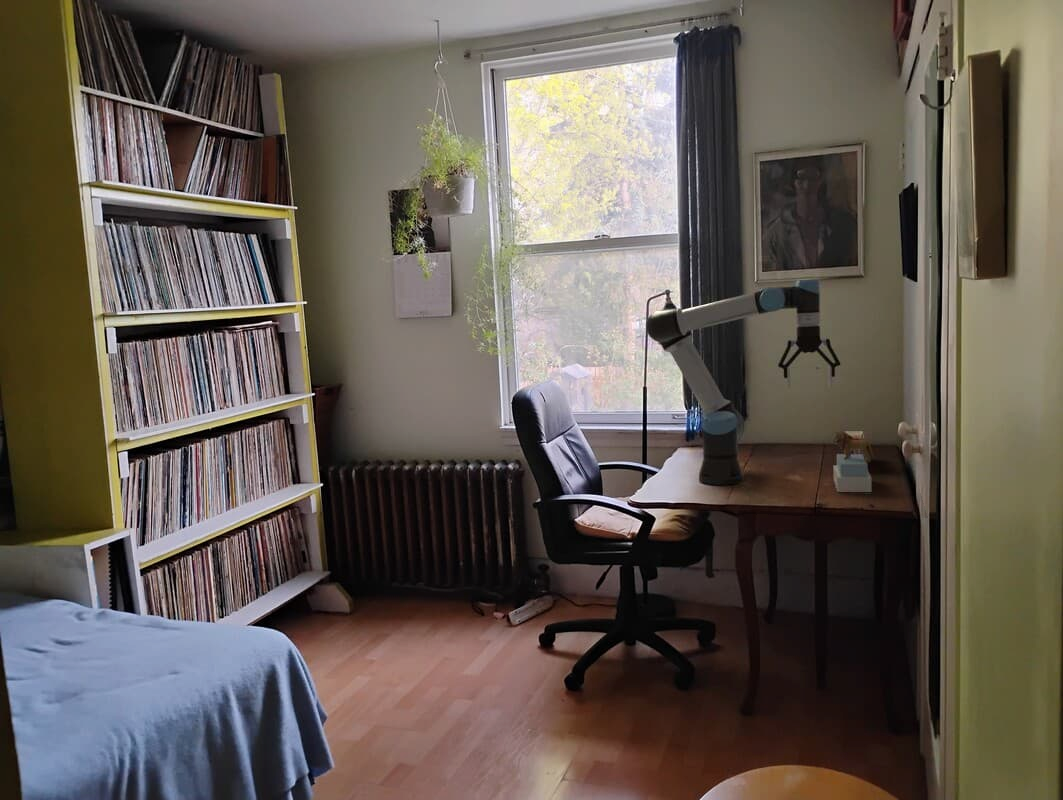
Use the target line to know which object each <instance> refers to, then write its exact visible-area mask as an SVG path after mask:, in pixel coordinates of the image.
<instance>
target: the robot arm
mask: <svg viewBox="0 0 1063 800" xmlns="http://www.w3.org/2000/svg"><path fill="white" fill-rule="evenodd" d="M820 293H821V291H820V282H819V281H818V280H817V279H804V280H803V279H802V280H801V279H800V280H796V282H795V285H794V286H793V285H792V286H779V287H778V286H776V287H764V288H761V289H760V291H759V290H758V291H756V292H755V291H754V292H751V293H747V294H741V295H739V296H734V297H730V298H726V299H722V300H718V301H717V300H716V301H714V302H709V303H706V304H703V305H699V306H698V305H697V306H694V307H693V306H692V307H690V308H689V307H688V308H685V309H682V308H680V307H677V308H673V307H666V308H663V309H657V310H656V311H654V312H652V313H651V314H650V315H649V316H648V318H647V321H646V324H645V325H646V326H645V329H646V332H647V334H648V336H649V338H650V339H652V340H653V341H655V342H658V343H660V346H661V347H662V349H663V350H664V352H667V353H669V354H670V355H671V357H672V358H673V360H674V362H675V363H676V365H677V367H678V368H679V370H680V372H681V374H682V376H683V378H684V380H685V382H686V383H687V385H688V386H689V389H690V390H691V392H692V393H693V395H694V397H695V398H696V399H695V400H696V401H697V402H698V404H699V405H700V408H701V410H702V414H701V418H702V419H701V420H702V423H701V428H702V451H703V452H702V453H703V457H702V461H701V467H700V470H699V473H698V481H699V483H701V482H703V483H702V484H704V483H707V484H706V485H710V484H713V485H712V486H730V485H729V484H732V485H737V484H741V483H743V482H744V480H745V479H744V472H743V468H742V466H741V464H740V461H739V455H738V441H739V439H740V438H741V437H742V436H743V434H744V431H745V420H744V418H743V415H741V413H740V412H739V411H738V410H736V408H735V406H734V405H733V403H732V402H731V400H728V399H725V398H724V397H723V394H722V393H721V390H720V389H719V387H718V386H717V384H716V382H715V380H714V379H713V376H712V375H711V373H710V372H709V369H708V367H707V366H706V365H705V363H704V361H703V359H702V357H701V355H700V354H699V352H698V350H697V348H696V347H695V345H694V343H693V341H692V340H693V336H694V335H693V332H692V331H694V330H696V331H697V330H699V329H703V328H708V327H711V326H712V327H713V326H715V325H719V324H725V323H729V322H733V321H737V320H741V319H746V318H750V317H754V316H757V315H758V316H759V315H762V314H763V315H764V314H766V313H767V314H768V313H771V312H776V311H780V310H788V309H796V325H798V326H797V327H796V340H791V339H789V340H787V344H786V345H787V346H786V348H785V350H784V351H783V353H782V356H781V358H780V360H779V362H778V365H777V366H778V368H781V369H783V378H784V379H787V380H786V382H787V385H786V387H787V389H790V388H791V384H790V383H791V382H790V381H791V380H790V379H791V374H790V368H789V366H791V365H792V363H793V362H794V361H795V360H796V359H797V357H798V356H799V355H800V354H801V353H804V354H807V353H812V354H813V353H815V352H817V353H818V355H820V356H821V358H822V359H823V360H824V361H825V362H826V363H827V364H828V365H829V366H828V387H829V388H832V386H833V385H832V382H833V381H832V378H835V376H836V367H838V366H841V362H840V360H839V358H838V356H837V354H836V352H835V350H834V349H833V348H832V346H831V340H830V338H826V339H821V326H820V324H821V319H820V317H821V313H820V312H821V310H820V308H821V307H820V303H821V300H820V295H821V294H820ZM821 344H823V345H824V346H826V348H827V349H828V351H829V354H830V355H831V357H832V359H833V360H834V362H833V361H832V360H830V358H829V357H828V355H826V354H825V352H823V351H822V349H820V347H821ZM795 345H796V346H797V349H796V351H795V352H794V353H793V354H792V355H791V357H790V358H789V359H788V360H787V361H786V358H787V357H788V354H789V352H790V351H791V348H792V347H794V346H795ZM785 361H786V363H785ZM784 363H785V364H784ZM742 481H743V482H742ZM740 482H741V483H740ZM736 483H737V484H736Z"/></svg>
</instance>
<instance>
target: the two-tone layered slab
mask: <svg viewBox="0 0 1063 800" xmlns="http://www.w3.org/2000/svg"><path fill="white" fill-rule="evenodd" d="M844 457H846V455H845V454H843V453H836V465H833V467H832V469H833V482H835V483H834V485H836V486H835V489H836V488H837V489H836V492H837V491H838V492H872V476H871V474H870V472H869V469H868V466H869V465H868V462H866V460H865V459H864V457H863V455H862V454H851V457H850V458H848V459H844ZM838 492H837V493H838Z"/></svg>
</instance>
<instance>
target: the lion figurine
mask: <svg viewBox="0 0 1063 800" xmlns="http://www.w3.org/2000/svg"><path fill="white" fill-rule="evenodd" d="M832 441H833V443H834V445H835V444H836V445H837V446H838V447H839V449H841V450H842V451H843V450H844V451H845V455H846V457H844V459H848V458H850V457H851V450H853V451H859V450H861V451H862V453H863V454H864V455H865V458H864V459H865V460H866V462H867V463H871V461H872V459H871V456H872V458H873V459H874V461H879V458H877V457H875V456H874V453H873V450H872V446H871V444H870V442H869V441H868V440H867V439H865V440H855V439H853V438H852V436H850V435H848V434H847V433H845V431H841V430H837V431H835V432H834V435H833V438H832ZM869 452H870V453H869Z"/></svg>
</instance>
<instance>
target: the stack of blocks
mask: <svg viewBox="0 0 1063 800" xmlns="http://www.w3.org/2000/svg"><path fill="white" fill-rule="evenodd" d="M844 432H845V433H847V434H848V435H850V436H852V438H853V439H855V440H866V439H865V437H866V436H865V434H864V431H860V430H859V431H857V430H855V431H852V430H849V431H848V430H845V431H844ZM842 454H845V451H844V450H843V449H842ZM851 454H862V455H863V457H864V458H865V457H866V456H865V455H864V454H863V453H862V451H861V450H859V451H853V450H851Z"/></svg>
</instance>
